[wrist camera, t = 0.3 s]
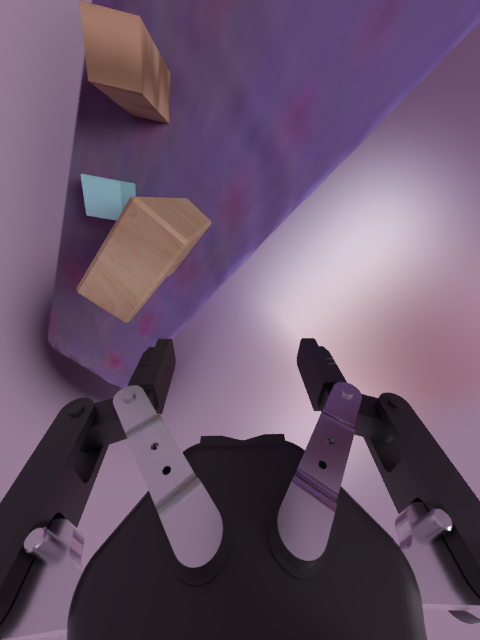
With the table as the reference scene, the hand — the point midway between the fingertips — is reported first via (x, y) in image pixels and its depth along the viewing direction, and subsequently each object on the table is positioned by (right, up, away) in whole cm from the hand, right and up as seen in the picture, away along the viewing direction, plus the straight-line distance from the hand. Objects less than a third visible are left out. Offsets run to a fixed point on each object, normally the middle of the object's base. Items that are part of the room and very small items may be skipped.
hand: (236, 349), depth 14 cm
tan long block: (-12, +31, +15) cm, 37 cm away
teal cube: (-19, +21, +21) cm, 35 cm away
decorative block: (-10, +16, +24) cm, 30 cm away
